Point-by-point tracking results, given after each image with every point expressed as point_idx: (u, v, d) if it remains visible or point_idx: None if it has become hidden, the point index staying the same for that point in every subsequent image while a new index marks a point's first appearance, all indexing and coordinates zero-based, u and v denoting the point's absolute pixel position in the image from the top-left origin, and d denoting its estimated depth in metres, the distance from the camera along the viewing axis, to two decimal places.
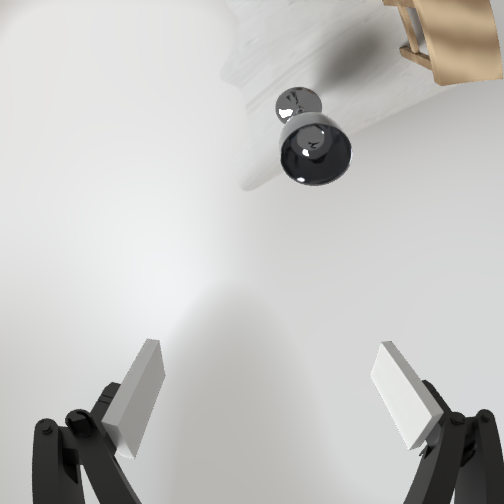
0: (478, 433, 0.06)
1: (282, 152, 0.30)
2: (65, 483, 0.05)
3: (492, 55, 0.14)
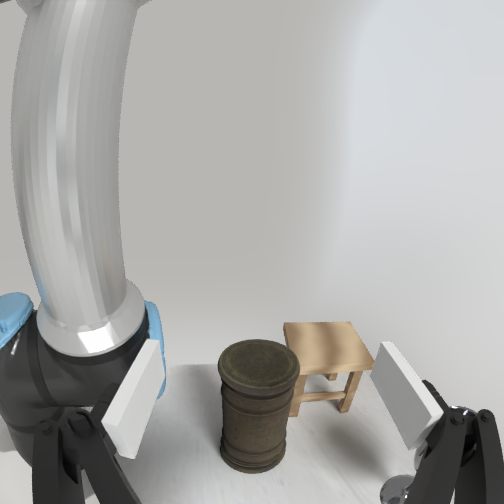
0: (478, 433, 0.06)
1: None
2: (65, 483, 0.05)
3: (334, 327, 0.43)
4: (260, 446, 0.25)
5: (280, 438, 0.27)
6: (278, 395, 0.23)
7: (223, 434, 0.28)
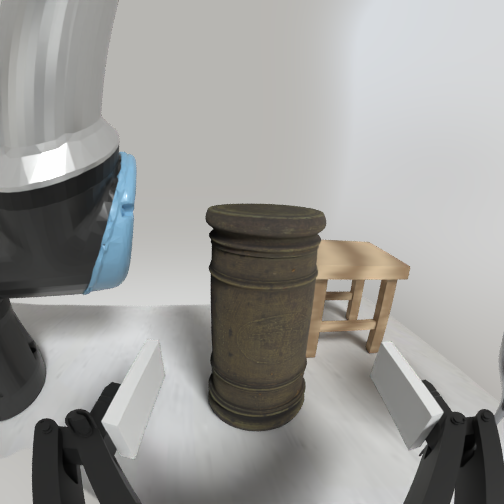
0: (478, 433, 0.06)
1: None
2: (65, 483, 0.05)
3: (352, 243, 0.36)
4: (270, 369, 0.18)
5: (300, 360, 0.20)
6: (298, 245, 0.16)
7: (212, 360, 0.21)
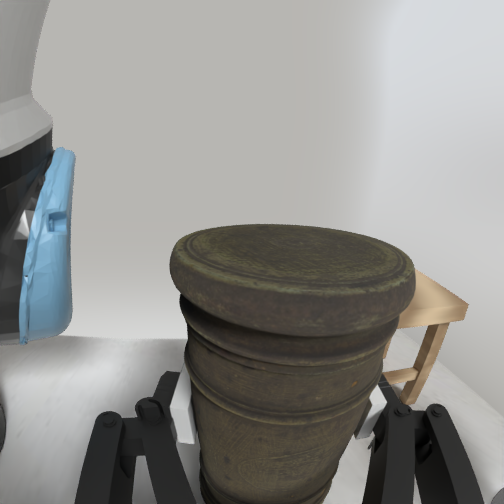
0: (431, 430, 0.07)
1: None
2: (118, 478, 0.06)
3: None
4: (290, 493, 0.08)
5: (333, 469, 0.10)
6: (374, 341, 0.06)
7: (201, 462, 0.11)
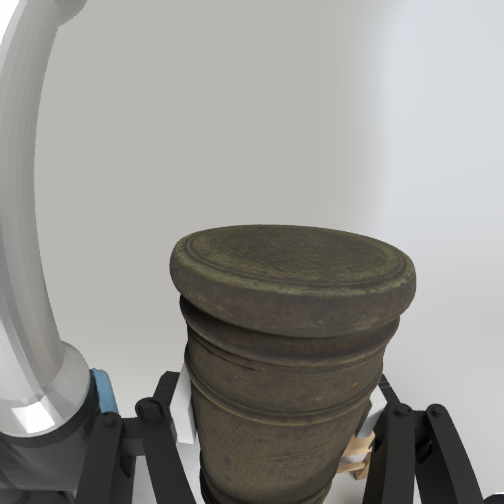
0: (431, 430, 0.07)
1: None
2: (118, 478, 0.06)
3: None
4: (291, 494, 0.08)
5: (334, 469, 0.10)
6: (374, 342, 0.06)
7: (201, 462, 0.11)
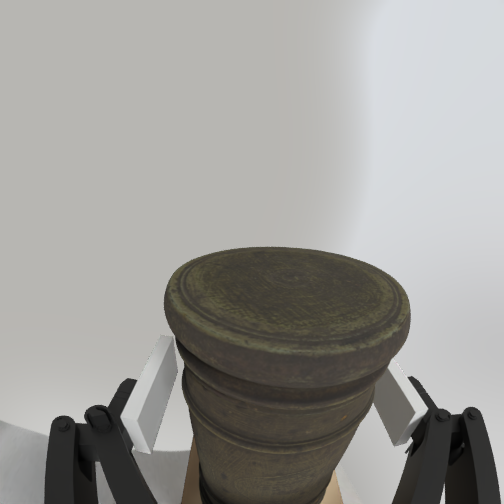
0: (465, 431, 0.07)
1: None
2: (79, 481, 0.05)
3: None
4: None
5: (327, 481, 0.10)
6: (364, 383, 0.06)
7: (200, 472, 0.11)
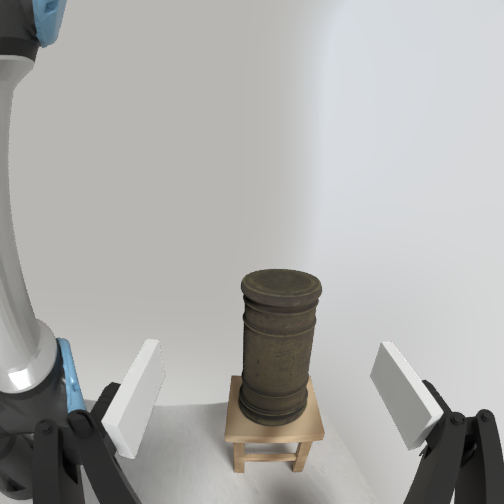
0: (478, 433, 0.06)
1: None
2: (65, 483, 0.05)
3: None
4: (283, 384, 0.27)
5: (303, 377, 0.28)
6: (302, 310, 0.25)
7: (243, 378, 0.30)
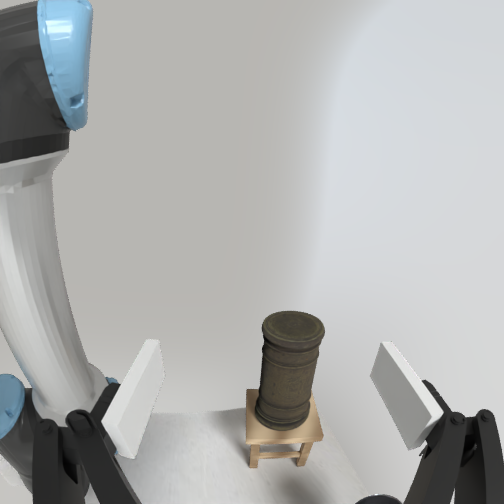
0: (478, 433, 0.06)
1: None
2: (65, 483, 0.05)
3: None
4: (293, 400, 0.34)
5: (308, 394, 0.35)
6: (309, 349, 0.32)
7: (260, 394, 0.37)
